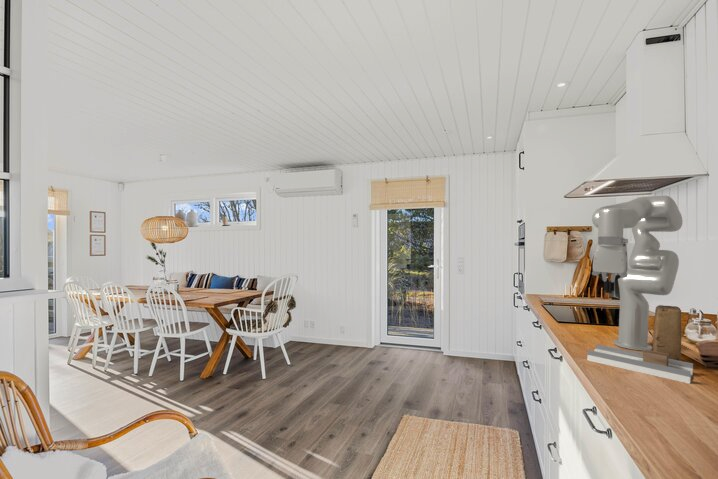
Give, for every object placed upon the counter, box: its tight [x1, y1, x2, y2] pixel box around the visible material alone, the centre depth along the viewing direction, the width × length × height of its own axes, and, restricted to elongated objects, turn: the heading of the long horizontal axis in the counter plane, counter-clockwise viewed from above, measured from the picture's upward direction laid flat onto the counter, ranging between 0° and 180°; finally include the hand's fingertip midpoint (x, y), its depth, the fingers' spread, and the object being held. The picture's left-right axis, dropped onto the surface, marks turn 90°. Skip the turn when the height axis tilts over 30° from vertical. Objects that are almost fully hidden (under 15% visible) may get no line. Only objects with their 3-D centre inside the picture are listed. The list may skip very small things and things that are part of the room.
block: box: [652, 304, 682, 361], centre depth 130 cm, size 11×8×20 cm
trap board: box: [586, 344, 694, 385], centre depth 125 cm, size 12×27×4 cm, turn 45°
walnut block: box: [642, 350, 669, 367], centre depth 121 cm, size 5×6×4 cm
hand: (608, 292), depth 134 cm, fingers closed
